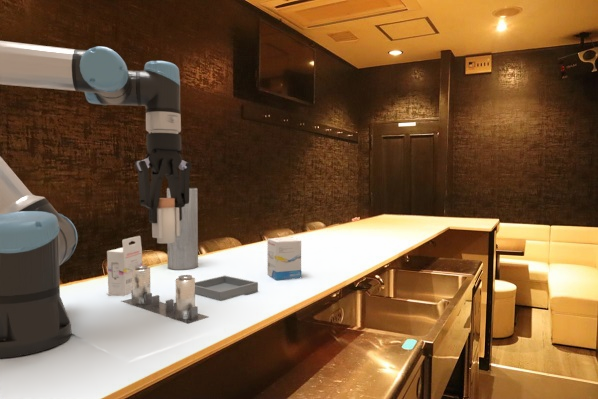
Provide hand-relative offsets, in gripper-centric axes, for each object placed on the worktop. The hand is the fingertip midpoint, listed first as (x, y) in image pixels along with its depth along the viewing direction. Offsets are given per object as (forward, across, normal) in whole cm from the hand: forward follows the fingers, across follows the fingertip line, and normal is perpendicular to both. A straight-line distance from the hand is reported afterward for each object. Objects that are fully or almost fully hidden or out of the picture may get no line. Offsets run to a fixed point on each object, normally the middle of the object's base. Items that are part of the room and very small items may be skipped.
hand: (166, 236), depth 98 cm
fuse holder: (+17, -1, 0) cm, 17 cm away
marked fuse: (+1, 0, 0) cm, 1 cm away
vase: (+17, +31, +38) cm, 52 cm away
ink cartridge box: (+17, +2, +21) cm, 27 cm away
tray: (+17, +18, +2) cm, 25 cm away
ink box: (+18, +43, +2) cm, 46 cm away
